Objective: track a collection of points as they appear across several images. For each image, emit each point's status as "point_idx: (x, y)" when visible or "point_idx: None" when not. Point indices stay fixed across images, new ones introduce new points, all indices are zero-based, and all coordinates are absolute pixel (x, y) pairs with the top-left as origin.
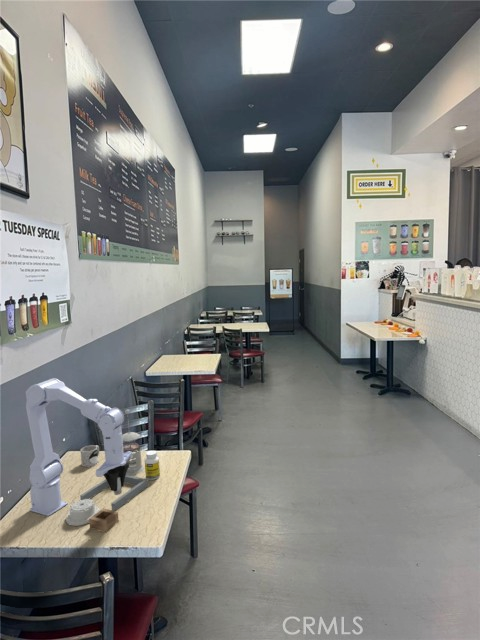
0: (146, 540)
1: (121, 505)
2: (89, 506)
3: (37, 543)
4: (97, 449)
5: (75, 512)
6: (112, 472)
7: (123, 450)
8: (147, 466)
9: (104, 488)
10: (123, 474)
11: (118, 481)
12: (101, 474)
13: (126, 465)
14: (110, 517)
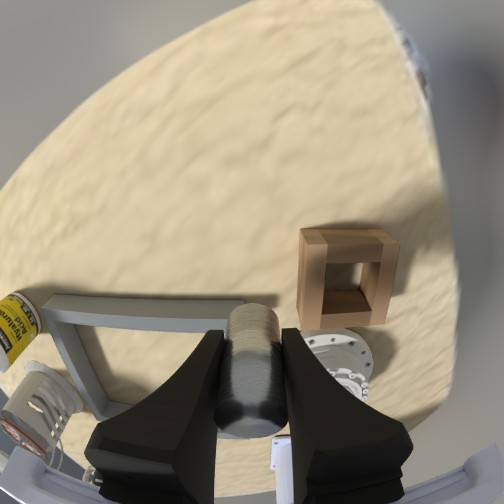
0: (359, 25)
1: (199, 301)
2: None
3: (444, 363)
4: (87, 477)
5: (367, 386)
6: (369, 471)
7: (43, 451)
8: (11, 346)
9: None
10: (199, 395)
11: (264, 371)
12: (500, 462)
13: (138, 462)
14: (358, 244)
